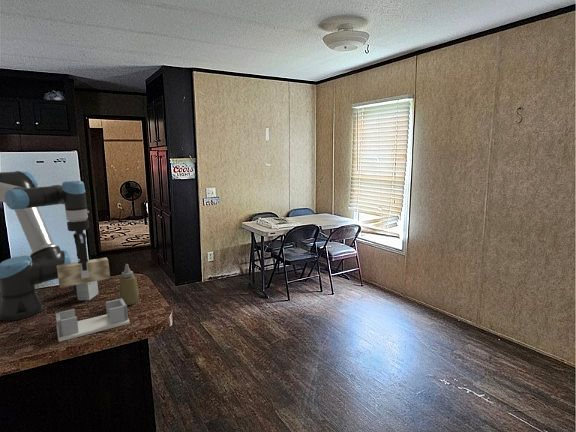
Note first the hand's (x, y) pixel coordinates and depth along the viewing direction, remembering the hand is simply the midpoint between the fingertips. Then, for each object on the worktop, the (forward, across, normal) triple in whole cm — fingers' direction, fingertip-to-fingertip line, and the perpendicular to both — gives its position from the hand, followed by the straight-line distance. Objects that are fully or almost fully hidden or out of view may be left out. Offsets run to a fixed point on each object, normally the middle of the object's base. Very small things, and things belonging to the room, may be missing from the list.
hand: (84, 275), depth 148 cm
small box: (+17, +22, -2) cm, 28 cm away
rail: (+2, 0, 0) cm, 2 cm away
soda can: (+17, +32, -1) cm, 36 cm away
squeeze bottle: (+17, +3, -17) cm, 24 cm away
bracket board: (+17, -12, 0) cm, 21 cm away
